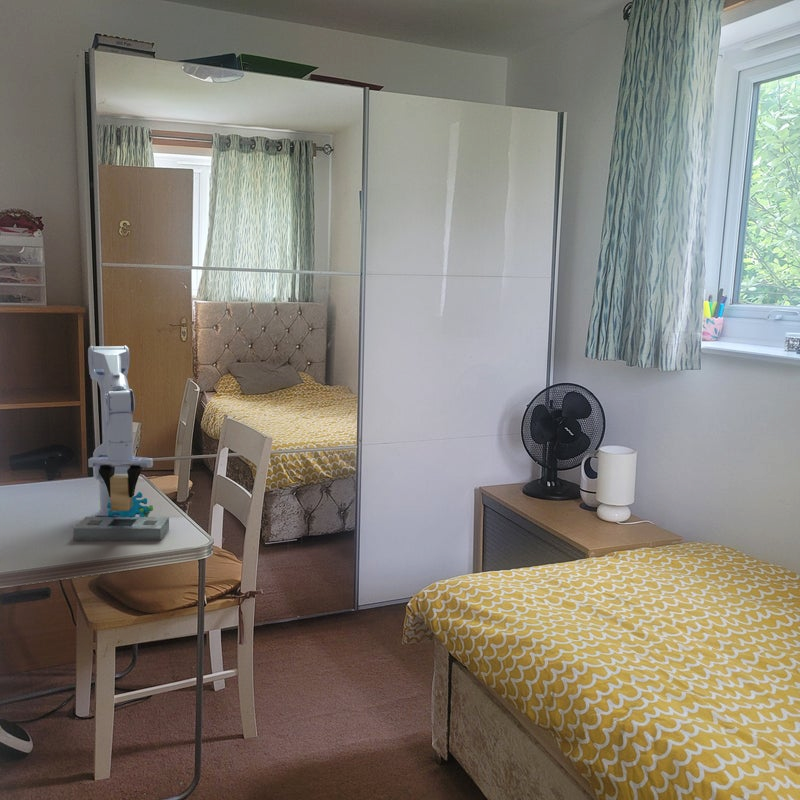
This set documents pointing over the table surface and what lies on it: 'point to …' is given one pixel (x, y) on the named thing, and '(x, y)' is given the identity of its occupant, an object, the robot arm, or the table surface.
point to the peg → (120, 493)
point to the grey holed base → (121, 529)
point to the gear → (133, 508)
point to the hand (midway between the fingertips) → (121, 496)
